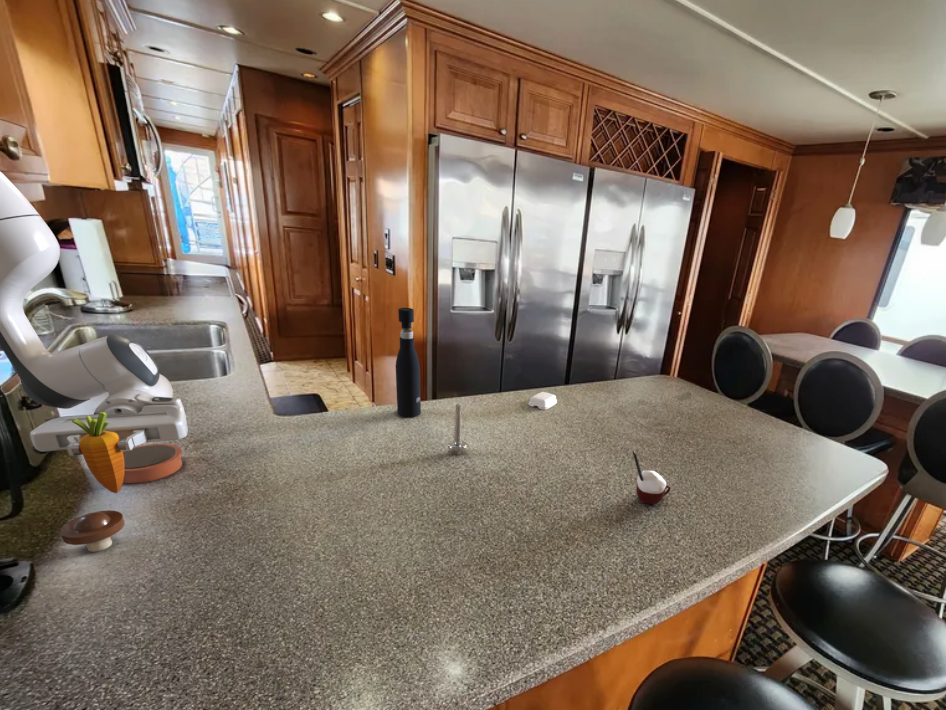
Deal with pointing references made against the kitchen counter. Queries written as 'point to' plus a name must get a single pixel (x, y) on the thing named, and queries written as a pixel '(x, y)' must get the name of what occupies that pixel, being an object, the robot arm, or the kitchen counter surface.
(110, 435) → the carrot
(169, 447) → the pot
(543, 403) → the soap
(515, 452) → the kitchen counter surface
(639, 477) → the cocoa
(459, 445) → the screw
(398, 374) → the black water bottle
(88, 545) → the mushroom
